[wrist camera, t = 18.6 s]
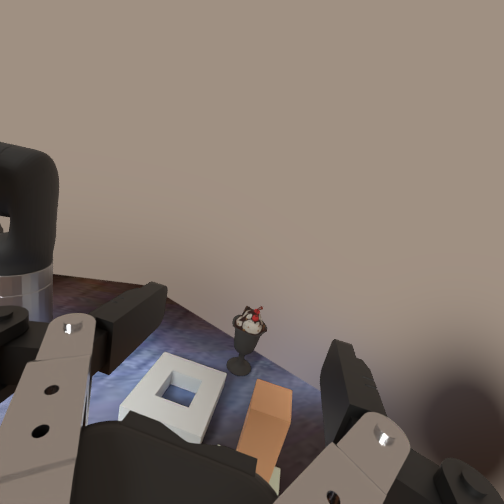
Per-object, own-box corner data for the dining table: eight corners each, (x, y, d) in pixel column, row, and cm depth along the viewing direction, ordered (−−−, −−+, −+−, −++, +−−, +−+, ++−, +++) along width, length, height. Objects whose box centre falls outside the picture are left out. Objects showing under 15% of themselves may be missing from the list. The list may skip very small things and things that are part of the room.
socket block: (117, 422, 36) (119, 405, 35) (162, 365, 47) (164, 351, 46) (197, 453, 34) (201, 437, 34) (223, 386, 46) (227, 373, 45)
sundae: (246, 385, 47) (266, 315, 43) (216, 368, 50) (232, 300, 45) (260, 365, 53) (278, 302, 49) (232, 350, 56) (247, 289, 51)
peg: (220, 508, 29) (250, 408, 25) (229, 471, 33) (257, 378, 29) (254, 522, 29) (290, 422, 24) (259, 482, 32) (292, 390, 28)
